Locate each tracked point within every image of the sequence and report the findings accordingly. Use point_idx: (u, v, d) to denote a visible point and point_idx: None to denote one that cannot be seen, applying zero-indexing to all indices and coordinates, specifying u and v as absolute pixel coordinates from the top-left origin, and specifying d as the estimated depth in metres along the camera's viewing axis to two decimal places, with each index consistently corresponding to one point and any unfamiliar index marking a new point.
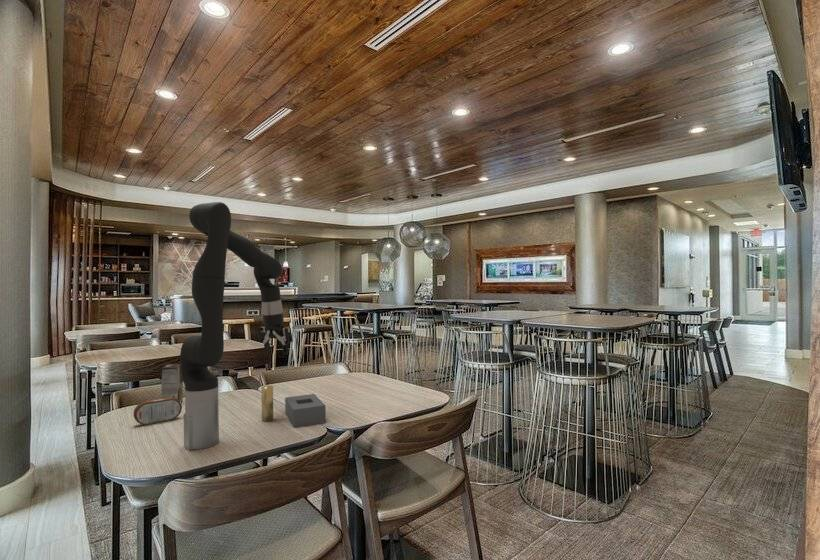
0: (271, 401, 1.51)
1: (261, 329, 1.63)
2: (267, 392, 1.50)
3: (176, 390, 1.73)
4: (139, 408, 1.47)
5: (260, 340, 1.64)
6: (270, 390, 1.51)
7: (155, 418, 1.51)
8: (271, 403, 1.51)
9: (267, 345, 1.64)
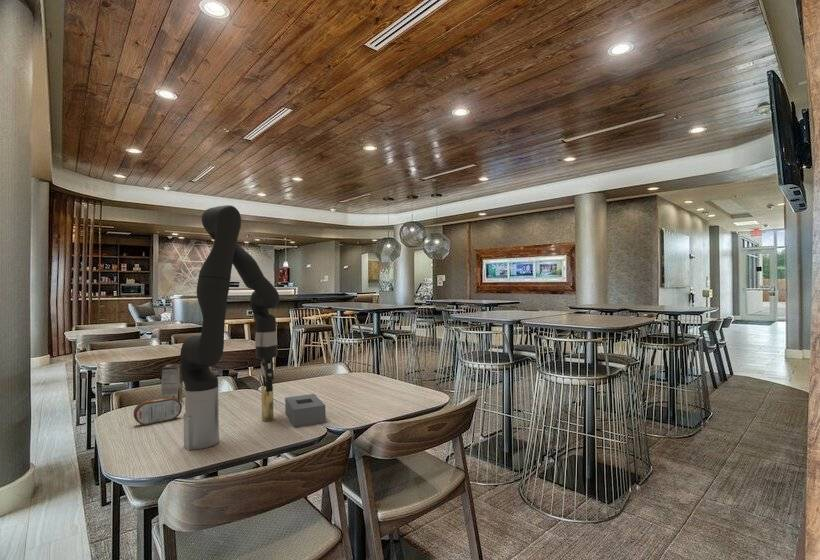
0: (271, 401, 1.51)
1: (262, 360, 1.57)
2: (267, 392, 1.50)
3: (176, 390, 1.73)
4: (139, 408, 1.47)
5: None
6: None
7: (155, 418, 1.51)
8: (271, 403, 1.51)
9: (265, 378, 1.55)
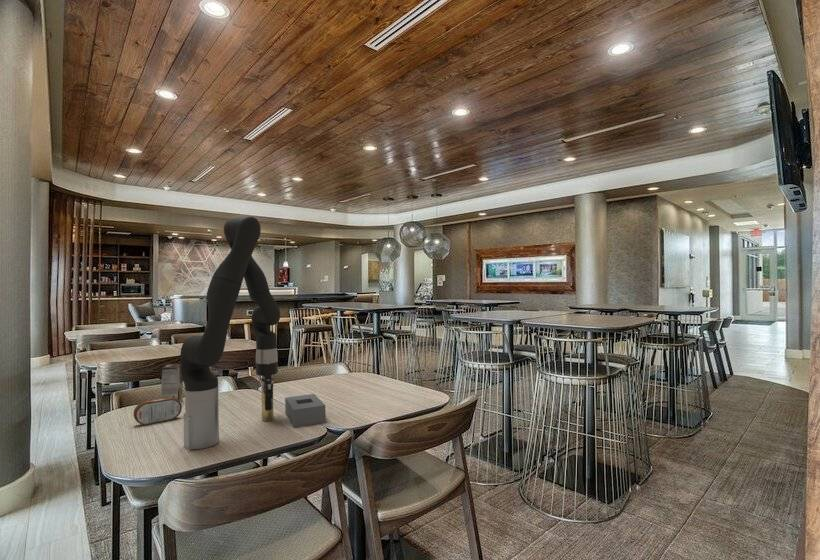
0: None
1: (263, 379, 1.56)
2: None
3: (176, 390, 1.73)
4: (139, 408, 1.47)
5: None
6: None
7: (155, 418, 1.51)
8: None
9: None
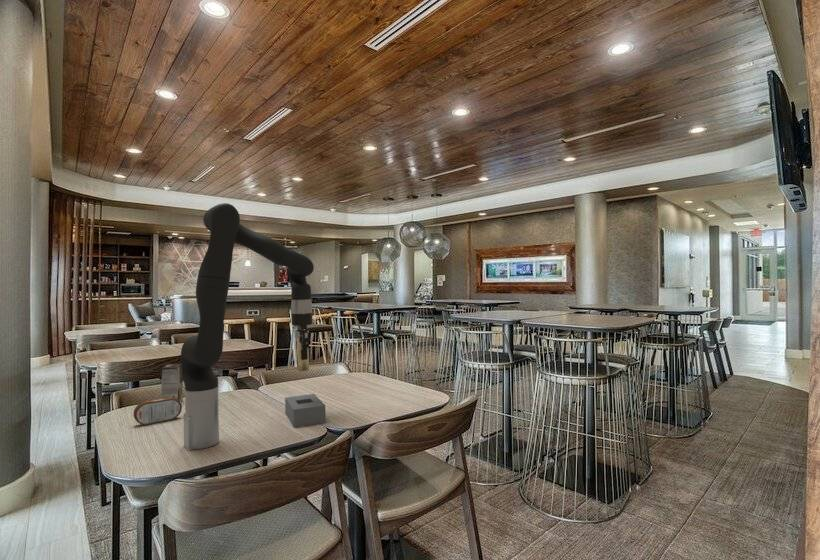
0: (307, 351, 1.53)
1: None
2: None
3: (176, 390, 1.73)
4: (139, 408, 1.47)
5: None
6: None
7: (155, 418, 1.51)
8: (307, 353, 1.53)
9: None
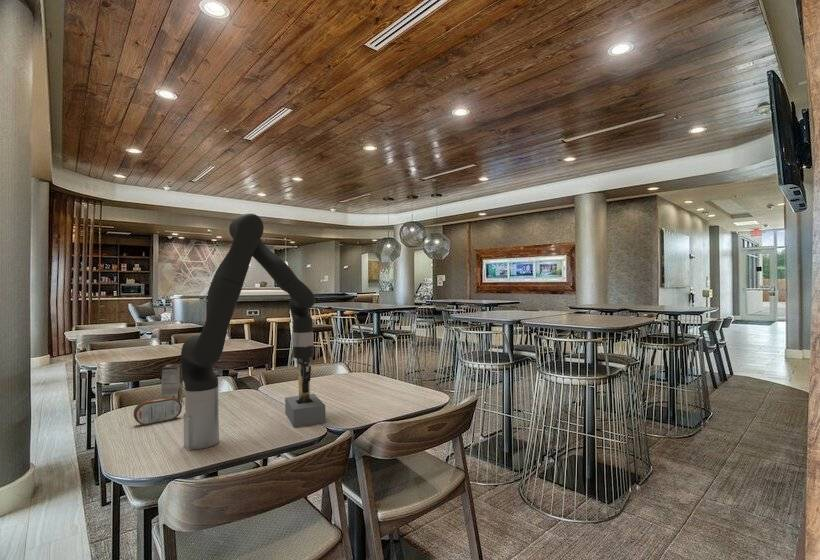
0: None
1: None
2: None
3: (176, 390, 1.73)
4: (139, 408, 1.47)
5: None
6: None
7: (155, 418, 1.51)
8: None
9: None
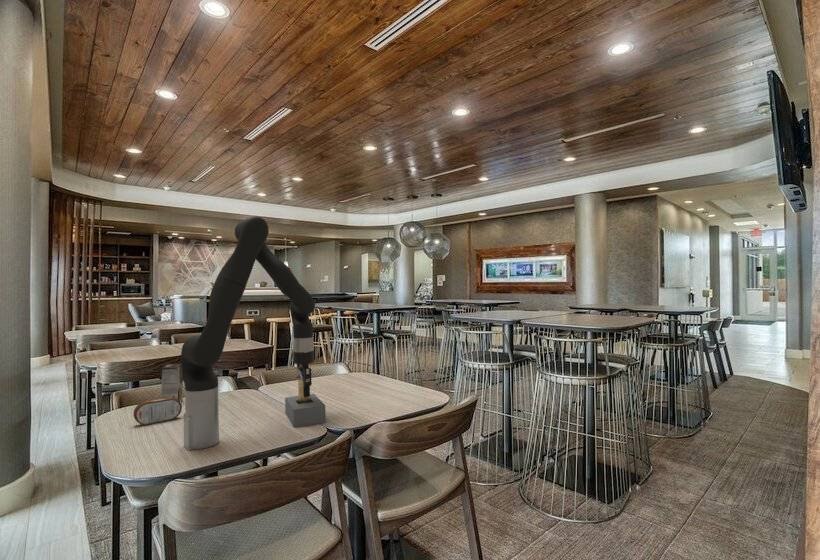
0: None
1: (298, 365, 1.58)
2: None
3: (176, 390, 1.73)
4: (139, 408, 1.47)
5: (297, 376, 1.59)
6: None
7: (155, 418, 1.51)
8: None
9: None
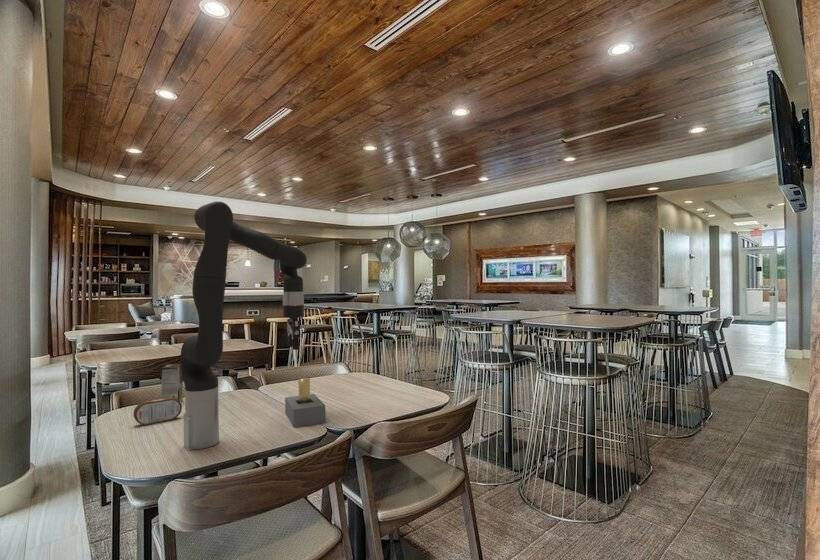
0: (308, 393, 1.53)
1: (289, 321, 1.60)
2: (305, 384, 1.52)
3: (176, 390, 1.73)
4: (139, 408, 1.47)
5: (287, 332, 1.60)
6: (307, 382, 1.53)
7: (155, 418, 1.51)
8: (308, 395, 1.53)
9: (291, 338, 1.58)
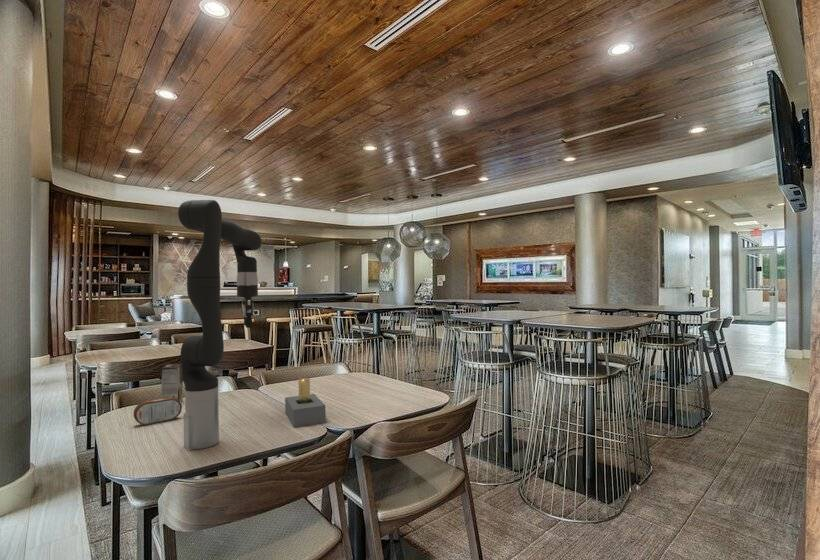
0: (308, 393, 1.53)
1: (244, 301, 1.66)
2: (305, 384, 1.52)
3: (176, 390, 1.73)
4: (139, 408, 1.47)
5: (243, 312, 1.66)
6: (307, 382, 1.53)
7: (155, 418, 1.51)
8: (308, 395, 1.53)
9: (246, 317, 1.64)
